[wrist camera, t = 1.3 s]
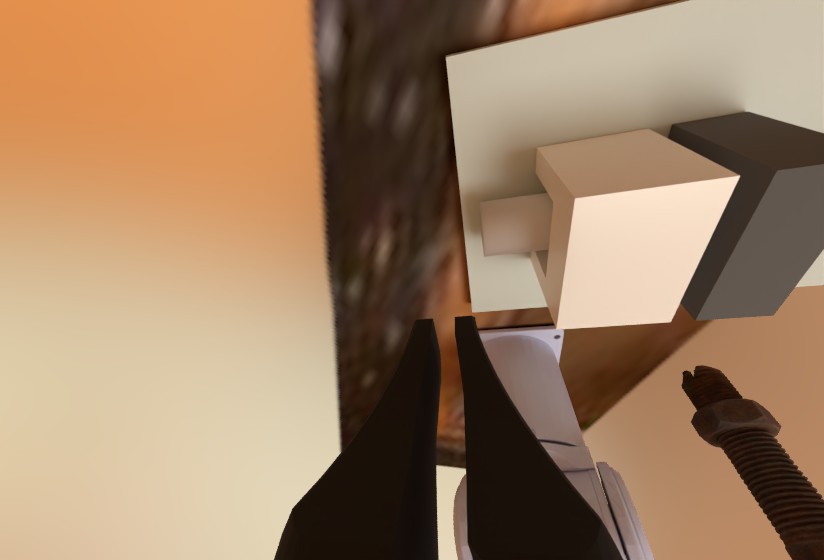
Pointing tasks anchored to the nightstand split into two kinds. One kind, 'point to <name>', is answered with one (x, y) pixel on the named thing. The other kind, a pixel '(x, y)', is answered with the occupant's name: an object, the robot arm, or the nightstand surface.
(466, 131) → the pipe clamp
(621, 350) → the nightstand surface
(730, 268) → the dark grey block
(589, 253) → the sleeve
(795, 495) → the bolt
